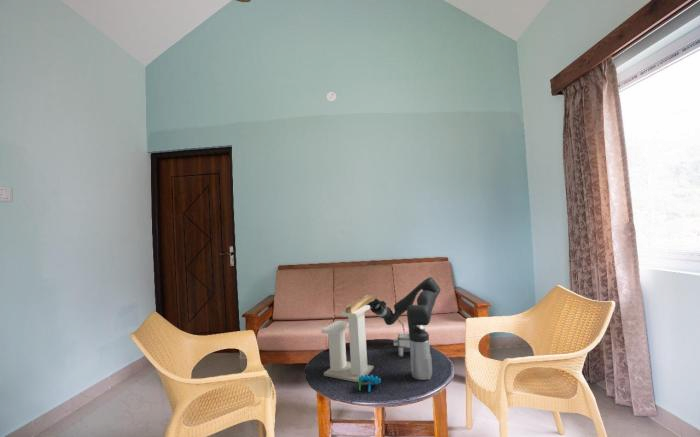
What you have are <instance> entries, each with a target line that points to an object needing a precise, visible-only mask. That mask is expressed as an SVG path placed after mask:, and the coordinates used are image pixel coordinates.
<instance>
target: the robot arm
mask: <svg viewBox="0 0 700 437" xmlns="http://www.w3.org/2000/svg"><path fill="white" fill-rule="evenodd" d="M421 290H422V291H421ZM419 292H420V293H419ZM440 293H441V287H440V285H439V284H438V283H437V282H436V281H435V279H434V278H433V277H428V278H425V279H424V280H423V281H421V282H420V283H419V284H418V285H417V286H416V287H415V288H413V290H411V291H410V292H409V293H408V294H406V296H405V297H403V298H402V299H400V300H399V301H398V302H396V303H395V304H394V305H393V310H394V312H393V310H392V309H391V307H389V306H387V303H386V302H385V301H384V300H382V301H381V299H380V300H379V299H378V298H374V300H372V302H370V303H368V304H366V305H370V309H369V310H370V311H371V312H372V313H373V314H374V315H377V316H378V317H379V318H381V319H383V320H384V323H385V324H386V325H388V326H391V325H392V326H393V324H395V323H396V322H397V320H398V319H399V318H400V316H401V315H402V314H404V313H405V312H406V317H407V319H406V320H407V325H408V326H407V327H408V334H409V340H410V348H409V352H410V353H409V354H410V356H409V357H410V370H411V377H412V378H414V379H416V380H420V381H423V380H424V381H425V380H428V381H429V380H431V378H432V376H433V363H432V362H433V361H432V359H433V358H432V354H431V350H430V349H431V348H430V347H431V346H430V337H429V336H430V335H429V333H428V332H427V331H426V330H425V331H424V330H422V329H420V328H419V327H417V326H416V325H424V326H428V325H429V324H430V322H431V318H432V313H433V308H434V306H435V303H436V300H437V298H438V297H439V295H440ZM417 295H418V296H417ZM361 298H362V297H360V298H359V299H361ZM416 298H417V299H416ZM415 300H416V304H414V302H415Z"/></svg>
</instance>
